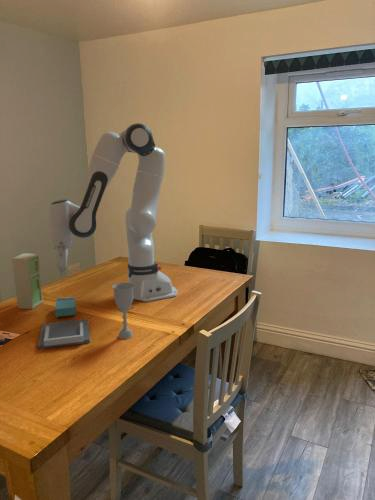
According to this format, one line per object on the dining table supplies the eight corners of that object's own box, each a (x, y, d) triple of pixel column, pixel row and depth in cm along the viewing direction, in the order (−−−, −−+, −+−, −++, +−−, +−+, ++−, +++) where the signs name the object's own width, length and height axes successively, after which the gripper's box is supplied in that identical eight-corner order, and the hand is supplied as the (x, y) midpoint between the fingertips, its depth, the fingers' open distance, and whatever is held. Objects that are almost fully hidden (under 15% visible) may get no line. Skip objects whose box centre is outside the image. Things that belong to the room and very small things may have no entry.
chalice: (118, 342, 129) (115, 290, 124) (112, 333, 135) (109, 284, 130) (139, 337, 132) (137, 287, 128) (132, 329, 138) (130, 281, 134)
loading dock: (88, 321, 147) (87, 310, 146) (90, 347, 128) (89, 335, 127) (43, 326, 143) (42, 315, 142) (38, 353, 124) (37, 341, 123)
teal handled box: (75, 307, 157) (75, 296, 156) (75, 317, 148) (74, 305, 147) (57, 309, 155) (56, 298, 154) (56, 319, 146) (54, 307, 145)
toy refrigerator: (33, 309, 156) (28, 259, 150) (17, 308, 157) (11, 258, 152) (44, 302, 163) (40, 253, 158) (29, 301, 165) (23, 253, 159)
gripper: (69, 245, 149) (70, 279, 153) (69, 234, 168) (71, 265, 172) (51, 246, 148) (53, 280, 151) (54, 235, 167) (56, 266, 170)
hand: (63, 272), depth 161 cm, fingers open, 8 cm apart
